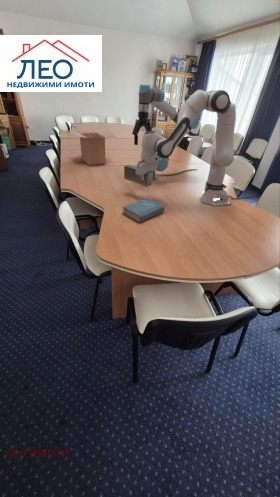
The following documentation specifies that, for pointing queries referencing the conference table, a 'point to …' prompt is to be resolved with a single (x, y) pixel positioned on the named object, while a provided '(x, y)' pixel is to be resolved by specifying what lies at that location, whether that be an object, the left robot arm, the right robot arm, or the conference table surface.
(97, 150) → the box
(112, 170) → the conference table surface
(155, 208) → the book
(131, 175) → the bar
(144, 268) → the conference table surface
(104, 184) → the conference table surface
